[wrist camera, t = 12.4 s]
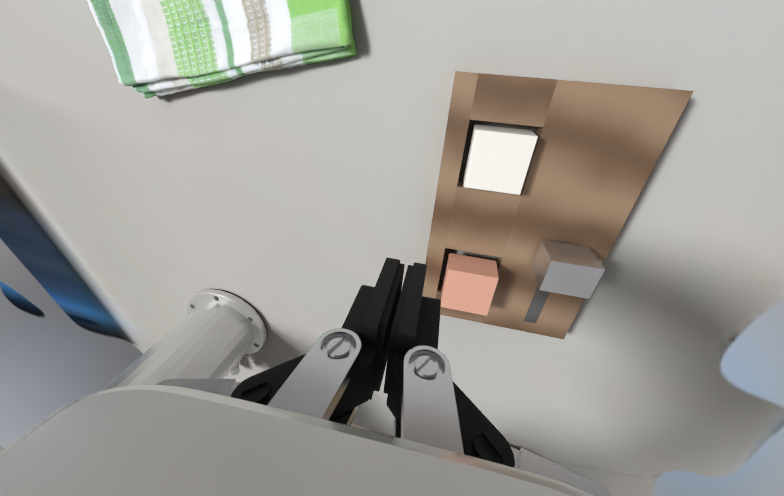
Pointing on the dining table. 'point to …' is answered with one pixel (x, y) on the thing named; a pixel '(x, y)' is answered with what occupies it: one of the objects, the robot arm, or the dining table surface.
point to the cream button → (499, 158)
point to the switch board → (546, 184)
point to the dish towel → (217, 39)
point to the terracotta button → (469, 284)
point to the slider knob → (566, 269)
